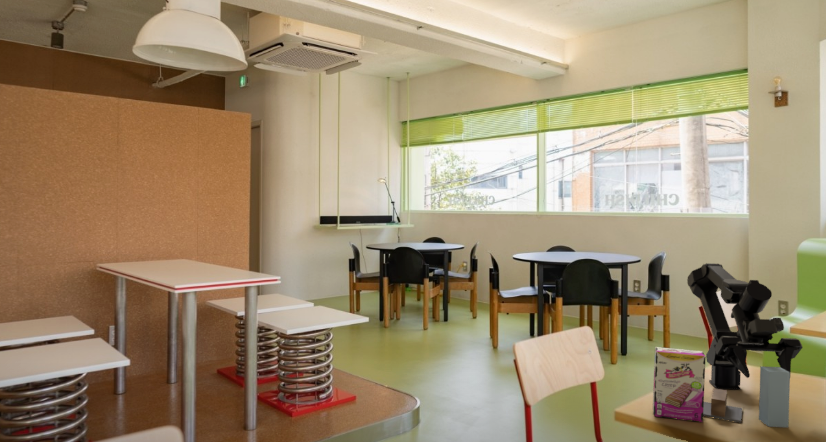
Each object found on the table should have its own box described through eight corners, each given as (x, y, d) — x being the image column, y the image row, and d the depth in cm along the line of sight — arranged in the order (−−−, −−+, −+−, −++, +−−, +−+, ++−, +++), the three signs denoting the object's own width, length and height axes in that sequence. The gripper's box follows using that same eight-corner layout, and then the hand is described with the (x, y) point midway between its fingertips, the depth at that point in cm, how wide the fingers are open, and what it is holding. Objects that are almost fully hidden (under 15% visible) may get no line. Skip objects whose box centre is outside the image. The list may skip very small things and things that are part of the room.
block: (767, 426, 136) (769, 371, 136) (758, 419, 141) (760, 366, 140) (788, 427, 136) (790, 372, 135) (778, 420, 140) (780, 367, 140)
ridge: (710, 414, 142) (711, 398, 142) (713, 403, 149) (713, 388, 149) (724, 417, 140) (725, 400, 140) (726, 405, 148) (726, 390, 148)
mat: (694, 414, 143) (694, 412, 143) (698, 403, 152) (698, 400, 152) (741, 423, 138) (741, 420, 138) (742, 410, 147) (742, 407, 147)
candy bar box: (653, 417, 141) (655, 351, 141) (652, 410, 146) (653, 346, 145) (704, 423, 138) (706, 355, 137) (701, 416, 142) (703, 350, 142)
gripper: (720, 304, 147) (738, 359, 136) (799, 306, 144) (824, 362, 134) (707, 328, 155) (724, 382, 144) (782, 331, 152) (804, 385, 142)
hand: (768, 377), depth 141 cm, fingers open, 9 cm apart
